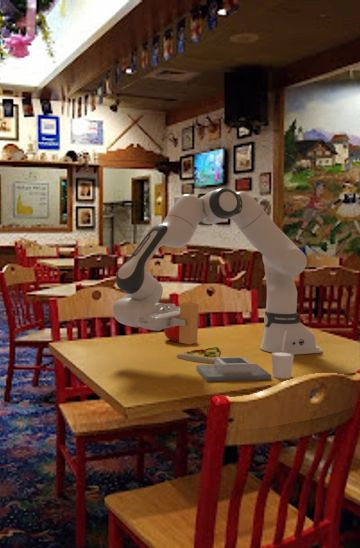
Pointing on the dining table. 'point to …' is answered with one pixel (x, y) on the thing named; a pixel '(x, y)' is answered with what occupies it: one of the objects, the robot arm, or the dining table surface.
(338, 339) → the dining table surface
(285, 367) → the white tapered cup
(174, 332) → the tomato
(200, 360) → the pizza slice
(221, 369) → the square socket plate
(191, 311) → the orange rectangular block
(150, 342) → the dining table surface
